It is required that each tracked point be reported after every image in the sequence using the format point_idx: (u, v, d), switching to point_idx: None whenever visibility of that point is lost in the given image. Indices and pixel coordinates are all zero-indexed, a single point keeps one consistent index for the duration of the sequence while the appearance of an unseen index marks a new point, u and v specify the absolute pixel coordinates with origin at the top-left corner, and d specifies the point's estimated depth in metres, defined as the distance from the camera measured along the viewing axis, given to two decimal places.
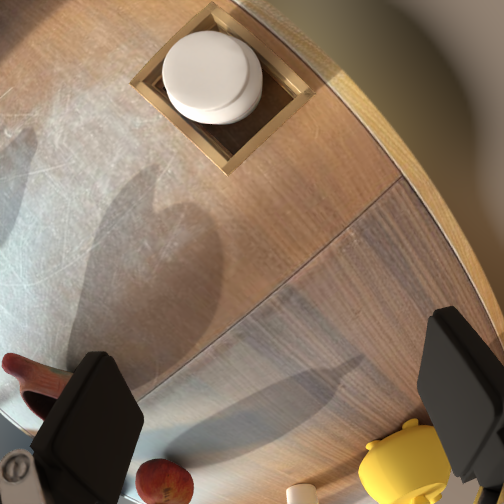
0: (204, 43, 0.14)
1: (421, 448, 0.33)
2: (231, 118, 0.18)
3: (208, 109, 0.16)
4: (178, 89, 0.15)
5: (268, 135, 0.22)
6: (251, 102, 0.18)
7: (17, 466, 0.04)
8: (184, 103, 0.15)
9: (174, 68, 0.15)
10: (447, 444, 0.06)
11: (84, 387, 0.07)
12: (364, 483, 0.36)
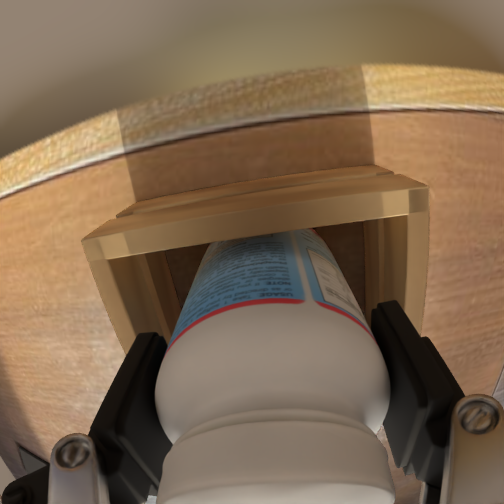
0: None
1: None
2: None
3: None
4: None
5: (420, 321, 0.10)
6: (389, 387, 0.07)
7: (74, 451, 0.05)
8: None
9: None
10: (390, 435, 0.07)
11: (141, 366, 0.08)
12: None
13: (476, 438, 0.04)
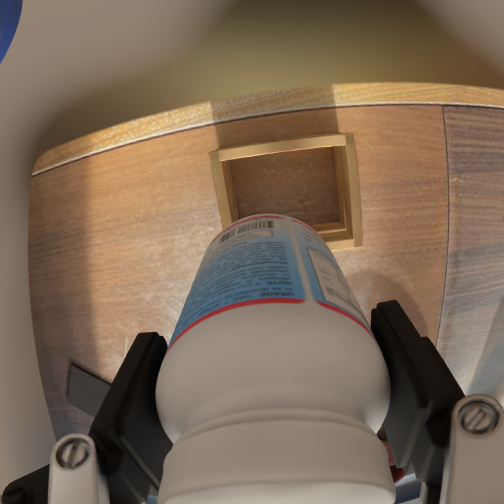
0: None
1: None
2: None
3: None
4: None
5: (359, 195, 0.23)
6: (390, 387, 0.07)
7: (74, 451, 0.05)
8: None
9: None
10: (390, 435, 0.07)
11: (141, 366, 0.08)
12: None
13: (476, 439, 0.04)
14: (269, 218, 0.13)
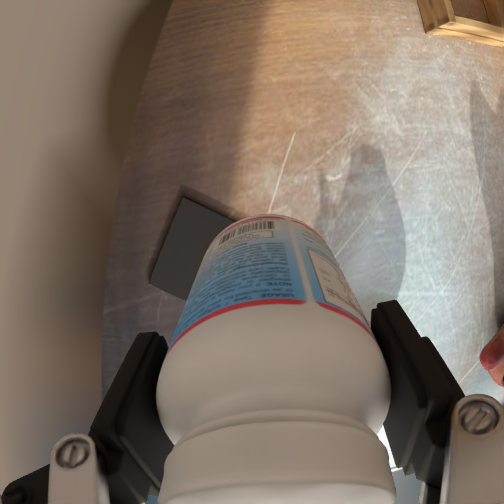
0: None
1: None
2: None
3: None
4: None
5: None
6: (390, 388, 0.07)
7: (74, 451, 0.05)
8: None
9: None
10: (390, 435, 0.07)
11: (141, 366, 0.08)
12: None
13: (476, 439, 0.04)
14: (269, 219, 0.13)
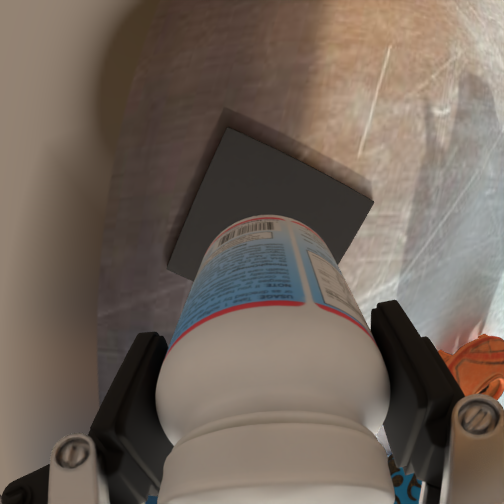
0: None
1: None
2: None
3: None
4: None
5: None
6: (389, 389, 0.07)
7: (74, 451, 0.05)
8: None
9: None
10: (390, 435, 0.07)
11: (141, 366, 0.08)
12: None
13: (476, 439, 0.04)
14: (269, 219, 0.13)
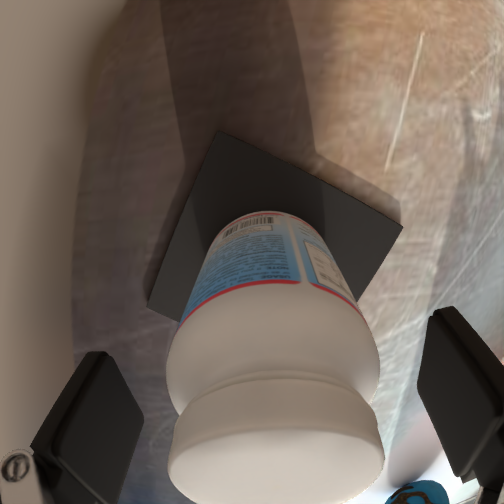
0: (216, 466, 0.05)
1: None
2: None
3: None
4: None
5: None
6: (378, 362, 0.08)
7: (17, 466, 0.04)
8: None
9: None
10: (448, 444, 0.06)
11: (84, 387, 0.07)
12: None
13: None
14: (269, 215, 0.14)
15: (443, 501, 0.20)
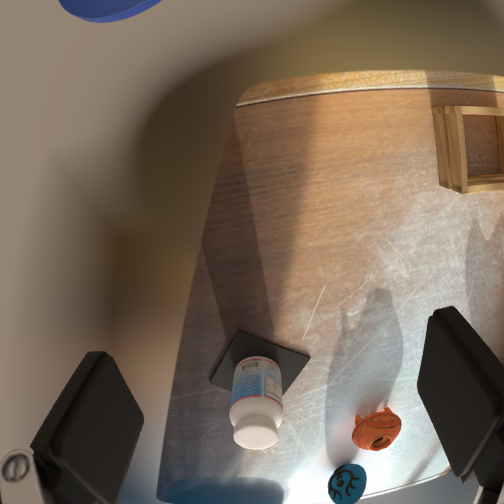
0: (243, 433, 0.30)
1: None
2: (281, 420, 0.33)
3: (273, 443, 0.30)
4: (256, 447, 0.30)
5: None
6: (281, 413, 0.32)
7: (17, 466, 0.04)
8: None
9: (245, 444, 0.30)
10: (448, 444, 0.06)
11: (84, 387, 0.07)
12: None
13: None
14: (257, 360, 0.38)
15: (361, 477, 0.44)
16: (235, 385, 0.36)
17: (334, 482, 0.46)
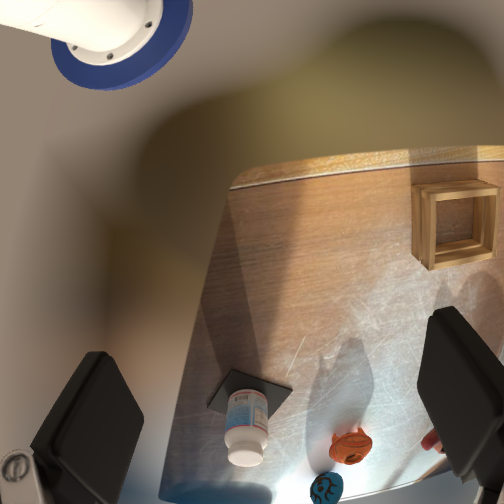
0: (236, 455, 0.36)
1: None
2: None
3: None
4: (246, 464, 0.37)
5: (498, 225, 0.30)
6: (266, 438, 0.38)
7: (17, 466, 0.04)
8: (252, 465, 0.37)
9: (237, 462, 0.36)
10: (448, 444, 0.06)
11: (84, 387, 0.07)
12: None
13: None
14: (247, 393, 0.44)
15: (339, 484, 0.51)
16: (229, 414, 0.42)
17: (315, 487, 0.53)
